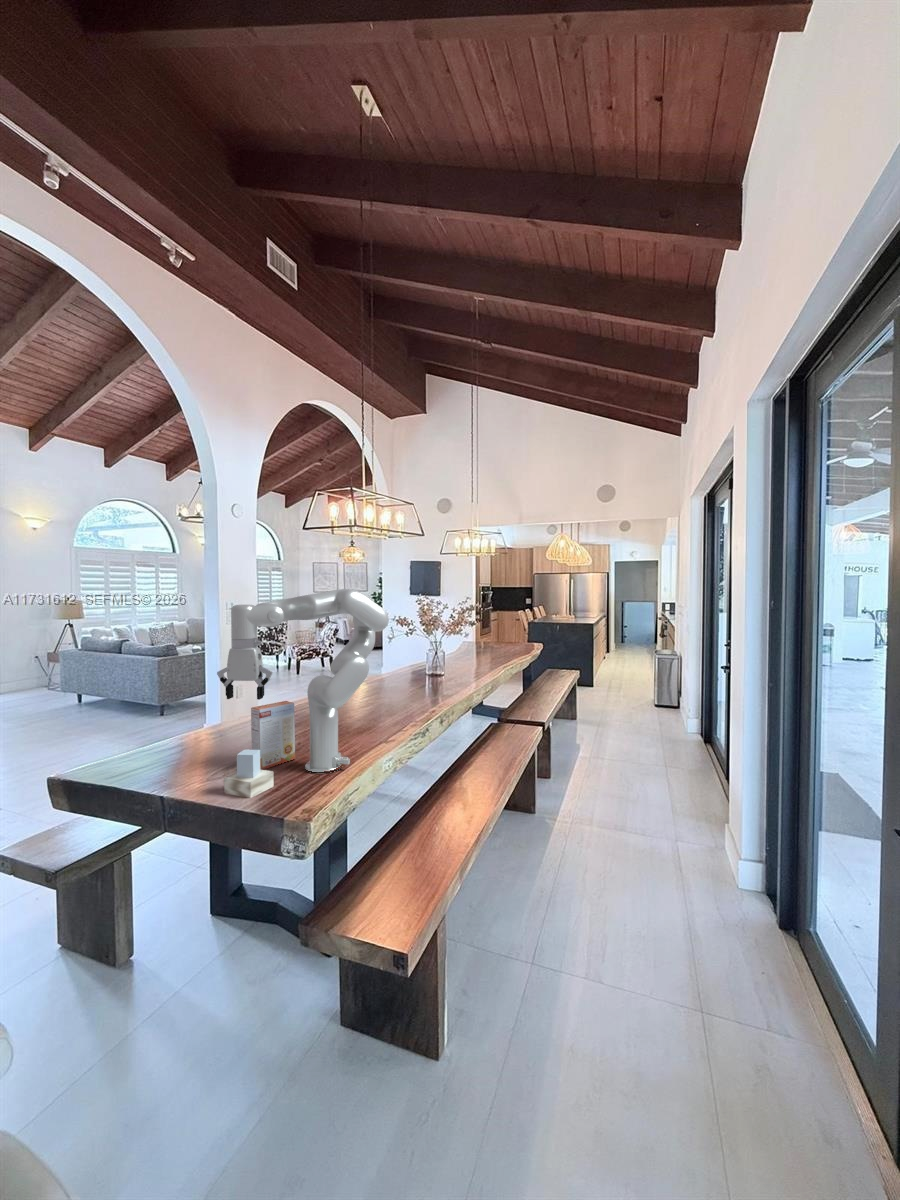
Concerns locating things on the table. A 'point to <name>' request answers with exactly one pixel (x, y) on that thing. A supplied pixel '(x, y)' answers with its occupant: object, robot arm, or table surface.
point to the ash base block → (249, 784)
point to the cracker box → (273, 733)
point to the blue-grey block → (248, 763)
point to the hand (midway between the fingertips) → (245, 698)
